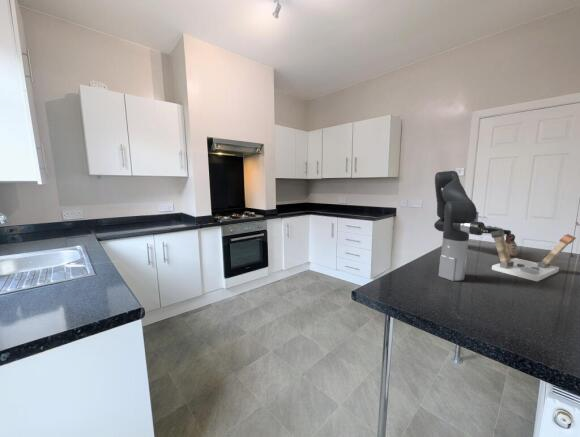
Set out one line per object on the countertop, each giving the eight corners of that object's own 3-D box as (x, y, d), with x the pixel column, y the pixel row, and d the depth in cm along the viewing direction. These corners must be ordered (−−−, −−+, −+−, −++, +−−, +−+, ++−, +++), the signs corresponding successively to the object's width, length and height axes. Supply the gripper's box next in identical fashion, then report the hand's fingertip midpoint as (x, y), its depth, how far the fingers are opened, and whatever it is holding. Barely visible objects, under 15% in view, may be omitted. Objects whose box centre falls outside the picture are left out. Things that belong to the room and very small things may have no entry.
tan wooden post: (508, 267, 112) (497, 231, 114) (500, 267, 114) (490, 232, 117) (513, 265, 114) (503, 229, 117) (506, 265, 117) (496, 230, 119)
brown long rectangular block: (544, 268, 113) (572, 239, 104) (537, 264, 115) (563, 235, 107) (548, 266, 115) (576, 237, 107) (541, 262, 117) (568, 234, 109)
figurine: (518, 254, 140) (521, 233, 138) (514, 256, 136) (517, 235, 134) (502, 251, 146) (504, 231, 144) (498, 253, 142) (500, 233, 140)
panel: (537, 281, 102) (538, 272, 102) (491, 269, 116) (492, 261, 116) (558, 271, 114) (559, 262, 113) (514, 261, 128) (515, 253, 127)
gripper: (466, 221, 136) (504, 226, 121) (479, 220, 142) (517, 224, 127) (465, 235, 137) (503, 241, 122) (477, 233, 143) (515, 238, 128)
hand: (510, 232), depth 124 cm, fingers closed
